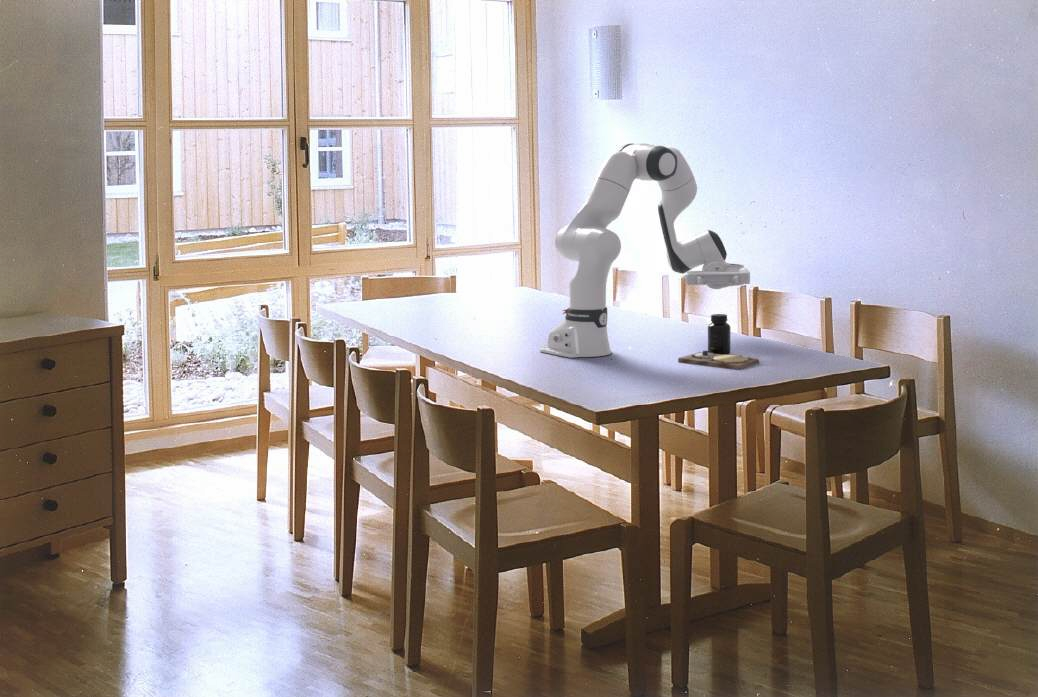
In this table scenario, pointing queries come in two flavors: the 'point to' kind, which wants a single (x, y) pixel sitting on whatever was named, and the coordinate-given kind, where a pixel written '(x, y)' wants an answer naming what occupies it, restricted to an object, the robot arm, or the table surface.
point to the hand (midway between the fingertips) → (718, 281)
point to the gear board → (719, 360)
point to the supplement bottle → (719, 335)
